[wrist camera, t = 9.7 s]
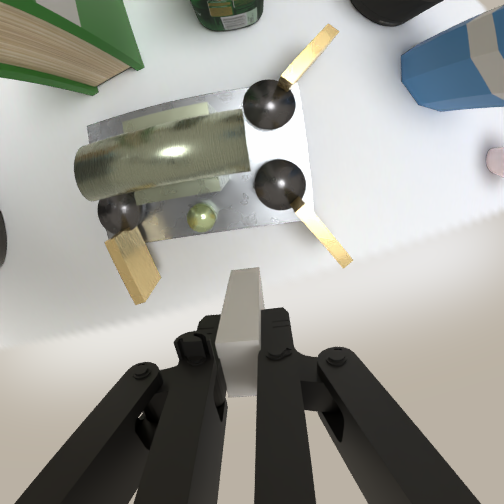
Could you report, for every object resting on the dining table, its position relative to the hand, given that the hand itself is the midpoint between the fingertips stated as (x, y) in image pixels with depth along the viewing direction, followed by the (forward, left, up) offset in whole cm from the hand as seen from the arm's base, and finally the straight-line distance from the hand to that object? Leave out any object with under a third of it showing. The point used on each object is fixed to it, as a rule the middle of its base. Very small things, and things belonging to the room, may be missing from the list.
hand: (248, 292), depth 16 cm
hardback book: (-15, +28, -20) cm, 37 cm away
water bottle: (+25, +16, -20) cm, 35 cm away
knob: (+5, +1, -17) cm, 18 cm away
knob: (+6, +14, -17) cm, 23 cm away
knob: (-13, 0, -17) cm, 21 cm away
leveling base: (-5, +7, -19) cm, 21 cm away
